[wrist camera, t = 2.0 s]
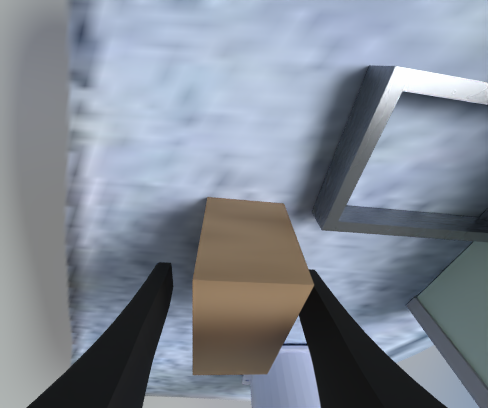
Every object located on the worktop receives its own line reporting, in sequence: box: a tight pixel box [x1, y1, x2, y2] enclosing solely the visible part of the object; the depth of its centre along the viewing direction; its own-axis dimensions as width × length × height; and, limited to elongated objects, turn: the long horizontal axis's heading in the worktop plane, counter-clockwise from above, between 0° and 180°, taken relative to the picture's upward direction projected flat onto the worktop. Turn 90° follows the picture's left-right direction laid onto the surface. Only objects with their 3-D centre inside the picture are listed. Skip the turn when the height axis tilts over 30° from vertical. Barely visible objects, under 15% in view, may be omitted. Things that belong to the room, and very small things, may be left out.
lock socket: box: [312, 66, 488, 242], centre depth 10 cm, size 7×11×2 cm, turn 82°
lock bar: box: [193, 197, 314, 375], centre depth 11 cm, size 8×4×5 cm, turn 172°
